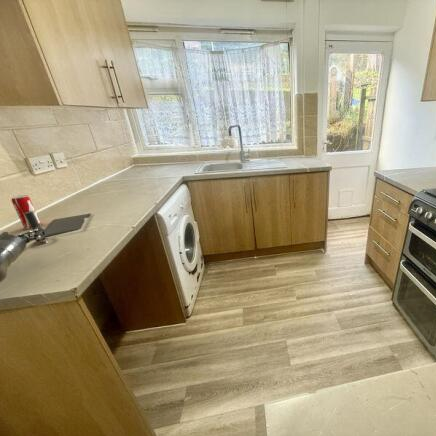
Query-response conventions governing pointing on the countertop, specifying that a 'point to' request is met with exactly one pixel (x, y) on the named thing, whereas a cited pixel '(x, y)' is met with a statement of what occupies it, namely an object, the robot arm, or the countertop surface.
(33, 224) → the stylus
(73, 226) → the tablet
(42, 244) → the dock
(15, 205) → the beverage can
